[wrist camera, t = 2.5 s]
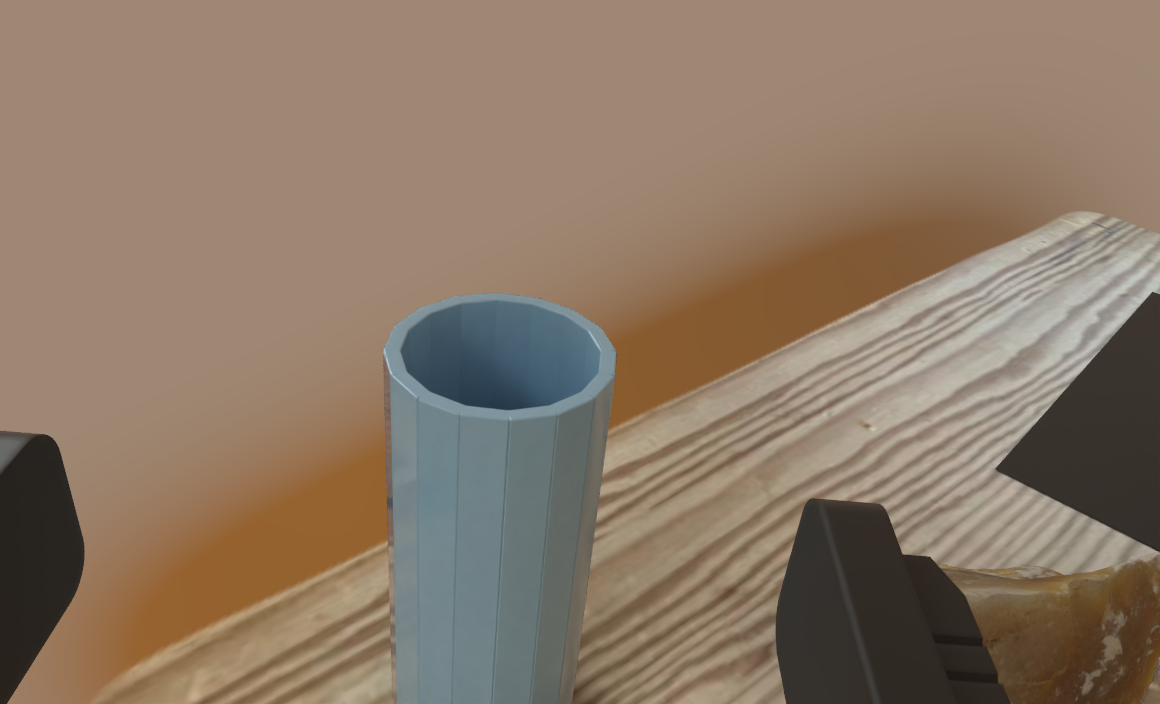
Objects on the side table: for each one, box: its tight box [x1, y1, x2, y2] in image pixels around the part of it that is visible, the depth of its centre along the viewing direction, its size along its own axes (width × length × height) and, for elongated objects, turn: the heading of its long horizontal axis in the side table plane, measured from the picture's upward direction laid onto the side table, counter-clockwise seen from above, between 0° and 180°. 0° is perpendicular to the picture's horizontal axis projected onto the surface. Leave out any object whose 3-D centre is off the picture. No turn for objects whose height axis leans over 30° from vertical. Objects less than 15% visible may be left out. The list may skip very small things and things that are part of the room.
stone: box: [937, 552, 1160, 704], centre depth 31 cm, size 7×6×15 cm
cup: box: [383, 293, 617, 704], centre depth 26 cm, size 5×5×13 cm
